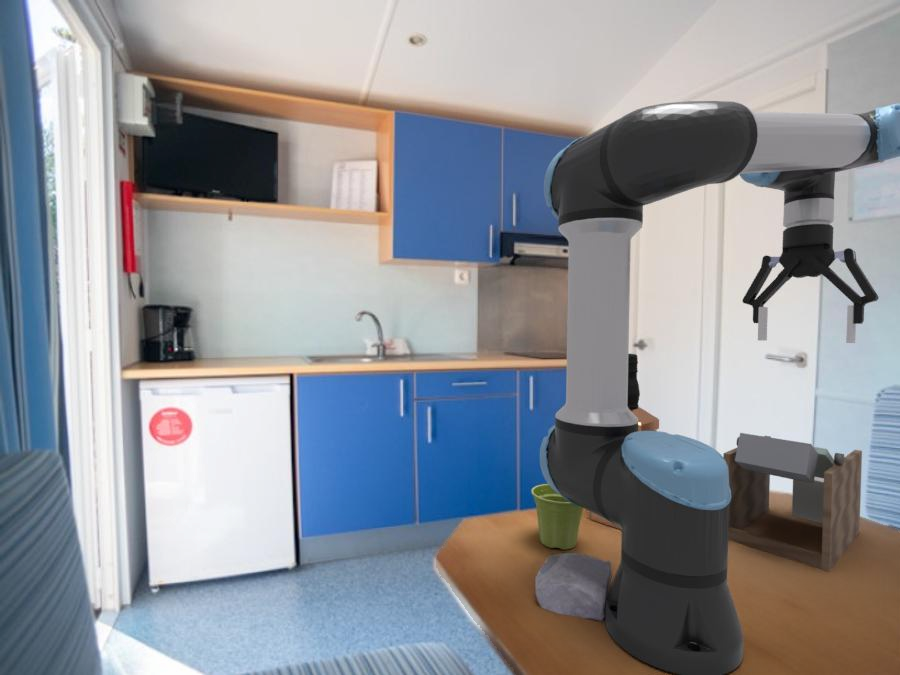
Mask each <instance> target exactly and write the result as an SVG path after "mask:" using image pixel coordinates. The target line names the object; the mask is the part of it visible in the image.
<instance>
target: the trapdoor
mask: <svg viewBox="0 0 900 675" xmlns="http://www.w3.org/2000/svg"><path fill="white" fill-rule="evenodd" d="M764 436H765V435H764ZM764 436H763V435H756V434H751V433H744V432H740V433H739V436H738V437H739V442H738V446H736V448H737V452H736V457H735V462H736V463H738V464H739V465H740V466H741V467H742V468H743V469H745V470H750V471H755V472H760V473H764V474H769V475H770V476H775V477H780V478H785V479H789V480H792V481H793V480H798V481H803V482H808V483H812V484H814V478H815V477H819V478H824V472H826V471H827V470H828V469H830V468H831V467H832V466H834V465H835V463H834V456H833V455H831V453H830V452H829V450H828V449H827V448H824V447H816V446H813V444H812V443H809V442H808V443H807V442H800V441H794V440H787V439H781V438H774V437H771V436H770V437H771V438H770V437H764Z"/></svg>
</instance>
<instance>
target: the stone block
mask: <svg viewBox="0 0 900 675" xmlns="http://www.w3.org/2000/svg"><path fill="white" fill-rule="evenodd" d="M611 578H612V562H611V561H609V560H603V559H599V558H597V557H594V556H590V555H588V554H582V553H576V552H566V553H557V554H552V555H550V556H548V557H547V558H546V561H545V562H544V563H543V564H542V565H541V566H540V568H539V570H538V572H537V574H536V576H535V578H534V579H535V580H534V582H535V583H534V584H535V588H534V589H535V593H534V594H535V597H536V600H537V602H538V604H539V606H540V608H542V609H544V610H545V611H546V610H547V611H550V612H553V613H554V614H558V615H567V616H574V617H579V618H582V619H586V620H587V619H590V620H591V619H592V620H594V621H599V622H602V621H604V620H605V605H606V599H607V596H608V593H609V591H610V588H611V581H612V580H611Z"/></svg>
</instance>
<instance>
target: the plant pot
mask: <svg viewBox="0 0 900 675" xmlns="http://www.w3.org/2000/svg"><path fill="white" fill-rule="evenodd" d="M531 495H532V497H533V499H534V500H533V501H534V503H535V504H536V505H535V506H536V508H535V509H536V515H537V523H538V524H537V525H538V533H539V541H540V542H541V544H542V545H544V546H546V547H547V548H551V549H554V548H556V549H557V548H558V549H560V550H564V551H566V550H570V549H573V548H575V547H576V545H577V543H578V536H579V531H580V524H581V520H582V513H583V509H584V508H582V507H581V506H576V505H574V504H572V503H570V502H569V501H567V500H566V499H565V498H564V497H562V496H561V495H560V494H558V493H557V492H555V491H554V490H553V489H552V488H551V487H550V486H549V484H548V483H542V484H538V485H535V486H534V487H532V488H531Z"/></svg>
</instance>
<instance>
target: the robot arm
mask: <svg viewBox="0 0 900 675" xmlns="http://www.w3.org/2000/svg"><path fill="white" fill-rule="evenodd" d="M898 157H900V103H893V104H890V105H886V106H882V107H879V106H878V107H876V108H875V109H873V110H869V111H867V112H862V113H831V112H830V113H826V112H825V113H824V112H792V111H791V112H785V111H784V112H783V111H755V110H754V111H752V110H751V109H750V108H749V107H748V106H747V105H745V104H744V103H741V102H738V101H726V100H725V101H722V100H695V101H693V100H692V101H689V100H688V101H678V102H676V101H675V102H666V103H660V104H659V103H658V104H653V105H648V106H644V107H641V108H637V109H635V110H633V111H631V112H629V113H626V114H625V115H623V116H622V117H620V118H618V119H616V120H614V121H612V122H611V123H608V124H607V125H604V126H603V127H601V128H599V129H597V130H595V131H593V132H591V133H590V134H588V135H584V136H581V137H578V138H576V139H575V140H573V141H572V142H570V143H569V144H567V146H566V147H565V148H562V149H561V150H560V151H559V152H557V154H556V155H555V156H554V157H553V158H552V160H551V161H550V163H549V164H548V167H547V169H546V172H545V175H544V179H543V195H544V200H545V203H546V206H547V207H548V208H550V210H551V211H550V212H551V215H553V217H554V218H556V219H557V220H558V227H557V228H558V232H559V234H561V235H562V236H563V237H564V238H565V239H566V240H567V242H568V258H567V260H568V267H567V268H568V270H567V271H568V272H567V317H566V318H567V328H566V377H565V378H566V380H565V382H566V384H565V385H566V386H565V387H566V388H565V389H566V390H565V393H566V394H565V403H564V405H563V406H562V407H561V408H560V409H559V410H558V411H557V412H556V413H555V416H554V418H555V419H554V425H552V426H551V427H550V428H549V429H548V431H547V433H548V434H547V435H546V436H544V437H543V439H542V442H541V445H540V447H539V448H540V449H539V464H540V469H541V473H542V476H543V478H544V480H545V481H546V484H549V486H550V487H551V488H552V489H553V490H554V491H555V492H557V493H558V494H560V495H561V496H562V497H564V498H565V499H566V500H567V501H569V502H570V503H572V504H574V505H576V506H581V507H582V508H583V509H585V510H587V511H588V512H589V513H590V512H592V513H594V514H596V515H598V516H600V517H602V518H604V519H606V520H608V521H610V522H612V523H614V524H616V525H617V526H619V527H621V529H622V530H621V529H620V530H621V534H620V535H621V536H620V537H621V540H620V541H621V544H620V546H621V547H620V548H621V549H620V552H621V554H620V563H619V565H618V567H617V569H616V573H615V576H614V577H613V578H614V579H613V581H612V583H611V585H610V587H609V593H608V596H607V599H606V605H605V618H604V622H605V627H606V629H607V632H608V633H609V635H610V637H611V638H612V639H613V641H615V643H616V644H617V645H618V646H620V648H621V649H622V650H624V651H626V652H627V653H628V654H629V655H631V656H633V657H634V658H636V659H638V660H640V661H641V662H644V663H645V664H647V665H649V666H653V667H654V668H656V669H657V668H658V669H660V670H663V671H665V672H669V673H673V674H676V675H677V674H678V675H726V674H728V673H730V672H732V671H734V670H736V669H737V668H738V667H739V666H740V665H741V662H742V661H743V658H744V633H743V629H742V625H741V622H740V619H739V616H738V612H737V610H736V606H735V602H734V600H733V597H732V594H731V591H730V588H729V585H728V557H729V556H728V554H729V553H728V552H729V540H728V530H729V503H730V501H731V490H730V486H729V470H728V466H727V464H726V461H725V459H724V458H723V454H721V453H720V452H719V451H718V450H717V449H715V448H714V447H712V446H710V445H709V444H706V443H704V442H702V441H700V440H698V439H694V438H691V437H688V436H685V435H680V434H672V433H668V432H665V431H660V430H659V431H658V430H656V431H638V418H637V417H636V416H635V415H634V414H633V413H632V412H631V411H630V410H629V408H628V406H627V402H628V354H629V346H630V345H629V342H630V340H629V338H630V337H629V336H630V297H631V296H630V294H631V293H630V292H631V291H630V290H631V287H630V286H631V248H632V247H631V246H632V244H631V243H632V242H631V240H632V238H633V237H634V236H635V235H636V234H637V233H638V232H639V231H641V229H642V228H643V222H644V219H643V218H644V213H643V212H644V206H647V205H650V204H653V203H656V202H659V201H661V200H664V199H668V198H671V197H673V196H675V195H679V194H681V193H683V192H688V191H690V190H693V189H696V188H701V187H705V186H707V185H715V184H717V185H718V184H723V183H727V182H730V181H732V180H734V179H735V178H737V177H738V176H739V177H740V178H741V179H742V180H743V181H744V182H745V183H747V184H750V185H754V186H755V187H757V188H759V187H760V188H767V189H773V190H779V191H782V192H784V193H783V200H784V201H783V218H782V219H783V220H782V222H783V223H782V226H783V227H785V229H784V230H783V231H782V247H781V248H782V249H781V250H782V251H781V255H780V256H770V255H768V254H767V255H764V256H763V257H762V259H761V265H760V266H761V267H760V268H759V270H758V272H757V273H756V276H755V277H754V279H753V281H752V283H751V284H750V286H749V288H748V289H747V291H746V293H745V294H744V296H743V298H742V303H743V304H746V305H749V306H752V322H753V324H757V341H767V339H768V336H767V335H768V315H769V314H768V312H769V311H768V309H769V307H768V306H765V304H766V303H767V302H768V301H769V300H770V299H771V298H772V297H773V296H775V294H776V293H777V292H778V291H779V290H780V289H781V288H782V287H783V286H784V285H785V284H786V283H787V282H788V281H790V280H791V278H792V277H793V278H796V279H802V278H806V277H810V278H818V277H819V276H821V275H822V276H823V277H825V278H826V279H827V280H828V281H829V282H830V283H832V285H833V286H834V287H835V288H837V289H838V291H840V292H841V293H842V294H843V295H844V296H845V297H846V298H848V299H849V300H850V301H851V302H852V305H849V304H848V305H847V308H846V310H847V313H846V340H845V342H846V344H855V343H856V331H857V330H856V328H857V324H858V325H859V324H860V325H861V324H863V323H864V319H865V306H866V305H867V304H870V303H873V302H877V301H878V300H879V297H880V296H878V294H877V292H876V290H875V289H874V287H873V286H872V284H871V283H870V281H869V279H868V278H867V277H866V275H865V273H864V271H863V269H862V268H861V267H860V265H859V264H858V262H857V255H856V254H857V253H856V251H855V250H854V249H852V248H850V247H849V248H845V249H844V250H839V251H835V250H834V226H833V225H831V224H832V223H833V222H834V220H835V218H834V217H835V184H836V183H835V182H836V173H840V172H842V171H848V170H852V169H856V168H857V169H858V168H860V167H864V166H865V167H866V166H869V165H873V164H876V163H880V164H881V163H885V161H888V160H892V159H895V158H898ZM836 259H838V260H839V261H840V262H841V263H844V264H845V265H846V267H847V269H848V271H849V273H850V274H851V276H852V277H853V279H854V280H855V282H856V283H857V285H858V287H859V288H860V290H861V291H862V293H863V296H860V295H859V293H857V292H856V291H855V290H854V289H853V288H852V286H850V285H849V284H848V283H846V282H845V281H844V280H843V279H842V278H841V277H840V276H839V275H837V273H836V272H835V271H834V270H833V269H831V267H830V266H831V265H832V263H834V261H835V260H836ZM778 264H780V265H781V266H782V268H783V269H781V271H779V273H778V274H777V276H776V277H775V279H773V280H772V282H771V283H770V284H769V285H768V286H766V287H765V289H764V290H763V291H762V292H761V293H760V294H759V292H760V291H761V289H762V288H763V286H764V284H765V282H766V281H767V280H768V277H769V276H770V274H771V272H772V269H773V268H776V267H777V265H778Z"/></svg>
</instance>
